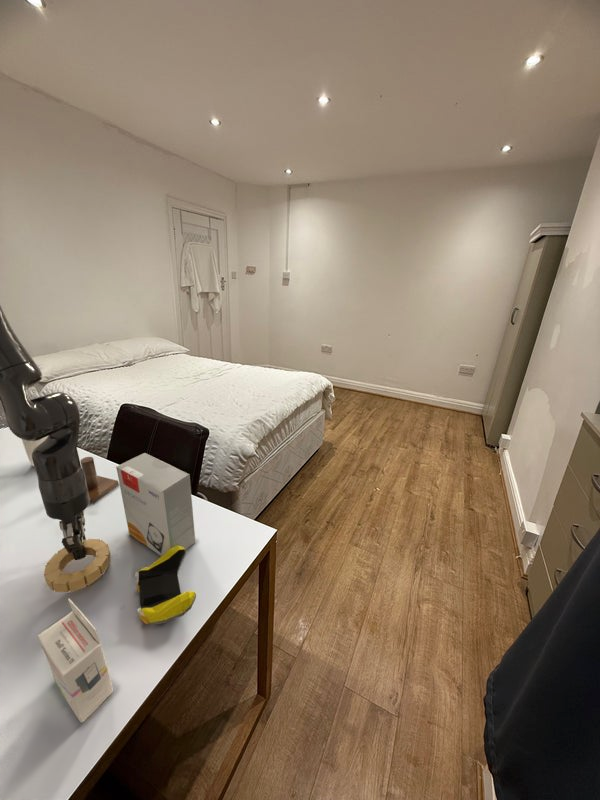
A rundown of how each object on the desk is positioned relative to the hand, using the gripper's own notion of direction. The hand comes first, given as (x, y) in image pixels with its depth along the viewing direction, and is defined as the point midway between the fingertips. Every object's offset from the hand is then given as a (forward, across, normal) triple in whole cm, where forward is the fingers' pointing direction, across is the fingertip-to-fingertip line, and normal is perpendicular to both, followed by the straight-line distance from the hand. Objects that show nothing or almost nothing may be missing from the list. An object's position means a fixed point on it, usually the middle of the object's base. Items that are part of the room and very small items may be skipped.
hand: (81, 552), depth 71 cm
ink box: (+1, +28, +2) cm, 29 cm away
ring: (0, +4, 0) cm, 4 cm away
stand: (+1, -25, +2) cm, 25 cm away
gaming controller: (+1, +18, +15) cm, 24 cm away
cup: (+2, -47, -12) cm, 49 cm away
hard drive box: (+1, +2, +16) cm, 17 cm away
